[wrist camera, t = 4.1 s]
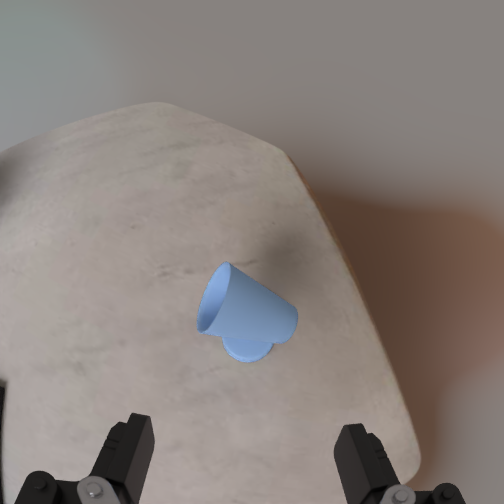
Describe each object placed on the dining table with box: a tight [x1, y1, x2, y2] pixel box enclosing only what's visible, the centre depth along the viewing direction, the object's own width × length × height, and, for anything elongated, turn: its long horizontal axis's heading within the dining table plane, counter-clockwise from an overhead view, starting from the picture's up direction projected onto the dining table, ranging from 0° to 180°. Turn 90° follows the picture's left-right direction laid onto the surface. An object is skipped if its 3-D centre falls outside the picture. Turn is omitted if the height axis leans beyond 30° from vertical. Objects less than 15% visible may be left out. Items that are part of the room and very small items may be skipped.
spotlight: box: [197, 262, 298, 362], centre depth 21 cm, size 5×10×7 cm
